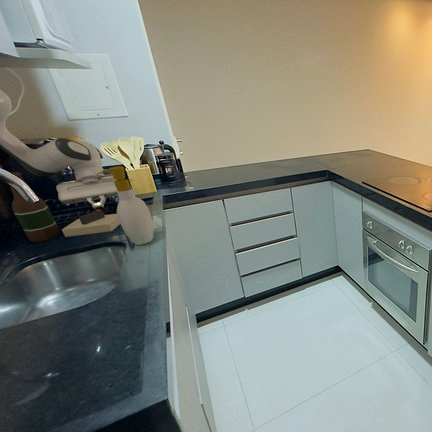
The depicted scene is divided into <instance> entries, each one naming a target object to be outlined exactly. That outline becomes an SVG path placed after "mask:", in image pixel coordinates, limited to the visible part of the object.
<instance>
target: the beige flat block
mask: <svg viewBox="0 0 432 432" xmlns="http://www.w3.org/2000/svg"><path fill="white" fill-rule="evenodd" d="M104 216H105V217H104V218H101V219H99V220H96V221H93V222H91V223H88V224H85V225H83V224H82V223H81V221H80V219H79V218H78V219H76V220H74V221H73V222H71V223H70V224H68V225H66V226H64V228H62V229H61V231H62V233H63V235H64V237H65V238H69V237H76V236H85V235H93V234H101V233H108V232H113V231H114V230H115V229H116V228H117V227H119V226H121V224H120V221H119V219H118V215H117V213H111V214H104Z"/></svg>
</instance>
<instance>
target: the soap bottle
mask: <svg viewBox="0 0 432 432" xmlns="http://www.w3.org/2000/svg"><path fill="white" fill-rule="evenodd" d="M107 170H109V171H103V172H110V173H111V174H112V176H113V177H114V179H117V180H116V181H114V183H115V186H116V188H117V191H116V192H117V194H118V196H117V197H118V199H119V200H118V203H117V207H116V214H117V215H118V219H119V221H120V226H121V228H122V230H123V232H124V234H125V236H126V237H128V239H129V240H130V241H131V242H132V243H133V244H134V245H135V246H136V245H137V246H142V245H146V244H149V243H150V242H151V241H153V239H154V221H153V218H152V214H151V212H150V208H149V207H148V205H147V204H146V203H145V201H144V200H143V199H141V198H140V197H138V196H136V194H135V191H134V189H133V187H131V184H130V181H129V179H128V178H126V174H125V167H124V166H123V165H121V166H119V165H118V166H113V167H109V168H107ZM103 172H100V173H98V174H101V173H103ZM98 174H97V175H98ZM148 242H149V243H148Z"/></svg>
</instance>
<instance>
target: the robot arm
mask: <svg viewBox="0 0 432 432" xmlns="http://www.w3.org/2000/svg"><path fill="white" fill-rule="evenodd" d="M12 106H13V105H12V101H11V99H10V97H9V96H8V94H6V93H5V91H3V90H2V89H0V149H1V150H2V151H4V152H5V153H7V154H8V155H9V156H10V157H12V158H13V159H14V160H15V161H17V162H18V163H19V164H20V165H21V166H22V167H23V168H24V170H26V171H27V172H29V173H31V174H33V175H35V176H38V177H45V178H50V177H51V178H52V177H54V176H55V175H57V174H58V173H60V172H61V171H63V170H65V169H67V168H73V173H74V177H75V180H69V181H62V182H60V183H58V184H57V185H56V186H55V187H56V192H58V193H57V195H58V201H60V203H62V204H64V205H72V204H77V203H78V204H79V203H83V202H88V203H89V204H90V205H91V206H92V208H93V209H94V210H98V209H103V208H105V205H104V204H105V202H106V201H107V199H108V198H114V197H119V196H118V194H117V192H116V191H117V188H116V186H115V183H114V181H116V180H117V179H114V177H113V176H112V174H111V173H110V172H103V171H109V170H108V169H104V167H103V161H102V158H101V155H100V152H99V150H98V149H97V148H96V146H95V145H94V144H92V143H90V142H88V141H83V140H78V141H76V140H73V139H69V138H66V137H65V138H64V137H59V138H56V139H54V140H52V141H49V142H47V143H45V144H44V145H41V146H40V147H38V148H35V149H34V148H30V147H29V146H27V145H26V144H25V143H24V142H22V140H20V139H19V138H18V137H17V136H15V135H14V134H13V133H11V132H10V131H9V130H8V128H7V127H6V121H7V120H8V117H9V116H10V114H11V113H12V110H13V109H12V108H13V107H12ZM100 172H103V173H101V174H98V173H100ZM97 174H98V175H97ZM95 200H100V201H99V202H95Z"/></svg>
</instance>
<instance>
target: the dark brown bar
mask: <svg viewBox="0 0 432 432" xmlns="http://www.w3.org/2000/svg"><path fill="white" fill-rule="evenodd" d="M104 215H105V214H104V212H103V210H102V209H95V211H92V212H89V213H86V214H84V215H81V216H78V219H80V221H81V223H82V224H83V225H85V224H88V223H91V222H93V221H96V220H99V219H101V218H104V217H105V216H104Z"/></svg>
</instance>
